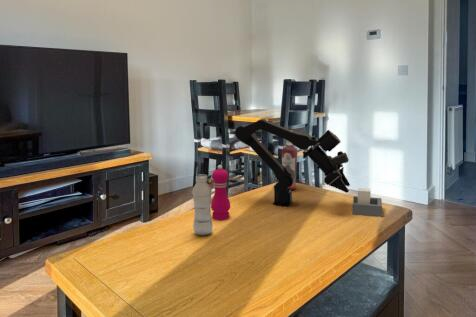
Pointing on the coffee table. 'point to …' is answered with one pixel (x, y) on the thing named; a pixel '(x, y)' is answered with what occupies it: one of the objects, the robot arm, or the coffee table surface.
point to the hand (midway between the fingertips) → (348, 188)
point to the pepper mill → (220, 195)
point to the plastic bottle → (202, 206)
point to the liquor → (290, 159)
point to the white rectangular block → (364, 195)
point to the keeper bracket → (367, 207)
